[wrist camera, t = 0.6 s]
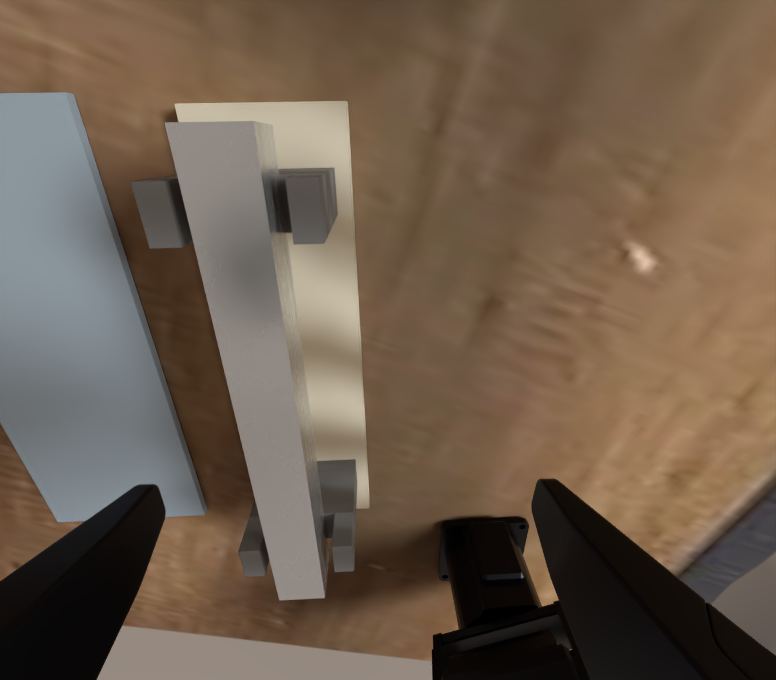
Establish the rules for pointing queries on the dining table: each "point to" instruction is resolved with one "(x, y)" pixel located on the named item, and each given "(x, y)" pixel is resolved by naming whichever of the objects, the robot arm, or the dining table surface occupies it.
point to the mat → (77, 327)
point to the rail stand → (302, 294)
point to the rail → (257, 333)
